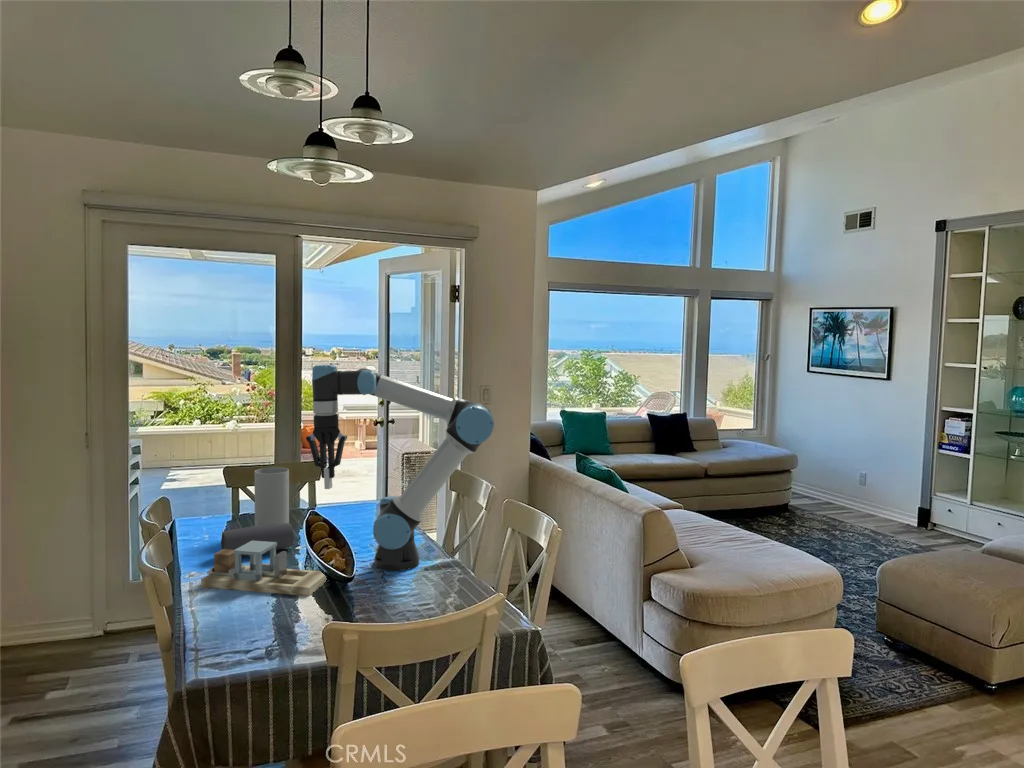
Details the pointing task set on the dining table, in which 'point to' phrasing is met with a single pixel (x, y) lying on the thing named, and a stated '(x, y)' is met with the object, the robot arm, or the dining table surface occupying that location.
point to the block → (224, 560)
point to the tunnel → (254, 559)
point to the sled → (279, 571)
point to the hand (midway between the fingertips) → (328, 488)
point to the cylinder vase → (271, 496)
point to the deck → (271, 582)
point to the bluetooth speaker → (258, 536)
